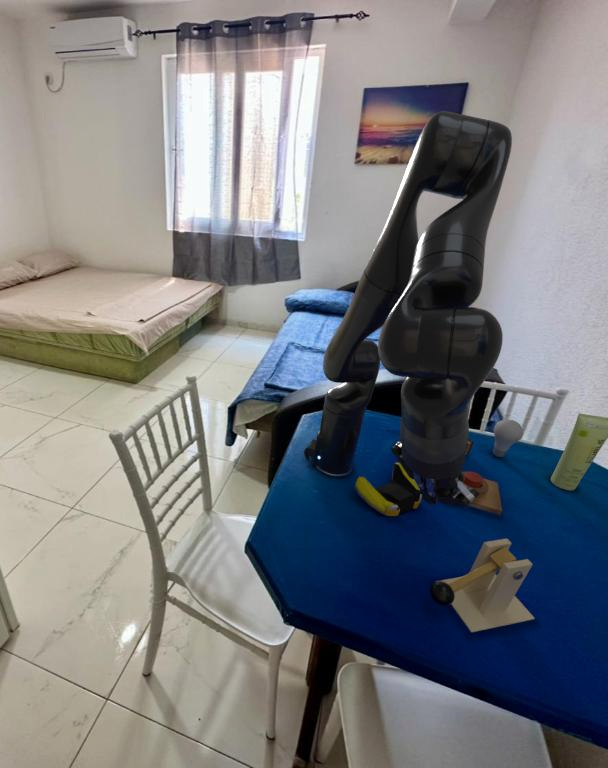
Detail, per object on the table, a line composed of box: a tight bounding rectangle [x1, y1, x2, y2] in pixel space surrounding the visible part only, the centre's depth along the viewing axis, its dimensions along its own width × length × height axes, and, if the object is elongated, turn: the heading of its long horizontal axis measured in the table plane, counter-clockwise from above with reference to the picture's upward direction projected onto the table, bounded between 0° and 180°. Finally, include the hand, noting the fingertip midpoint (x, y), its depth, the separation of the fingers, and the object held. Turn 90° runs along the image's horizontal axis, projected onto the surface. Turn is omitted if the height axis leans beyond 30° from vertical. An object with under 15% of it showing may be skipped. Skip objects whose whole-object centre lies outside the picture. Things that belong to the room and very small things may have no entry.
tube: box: [550, 413, 608, 491], centre depth 93 cm, size 6×5×20 cm
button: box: [463, 471, 484, 488], centre depth 91 cm, size 4×4×2 cm
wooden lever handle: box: [429, 547, 518, 607], centre depth 65 cm, size 14×4×4 cm
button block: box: [461, 471, 503, 516], centre depth 92 cm, size 12×10×4 cm
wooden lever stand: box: [435, 538, 535, 633], centre depth 67 cm, size 12×9×13 cm
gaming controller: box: [354, 462, 423, 517], centre depth 90 cm, size 15×6×10 cm
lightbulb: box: [492, 418, 524, 458], centre depth 104 cm, size 6×6×11 cm
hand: (430, 498), depth 63 cm, fingers closed
